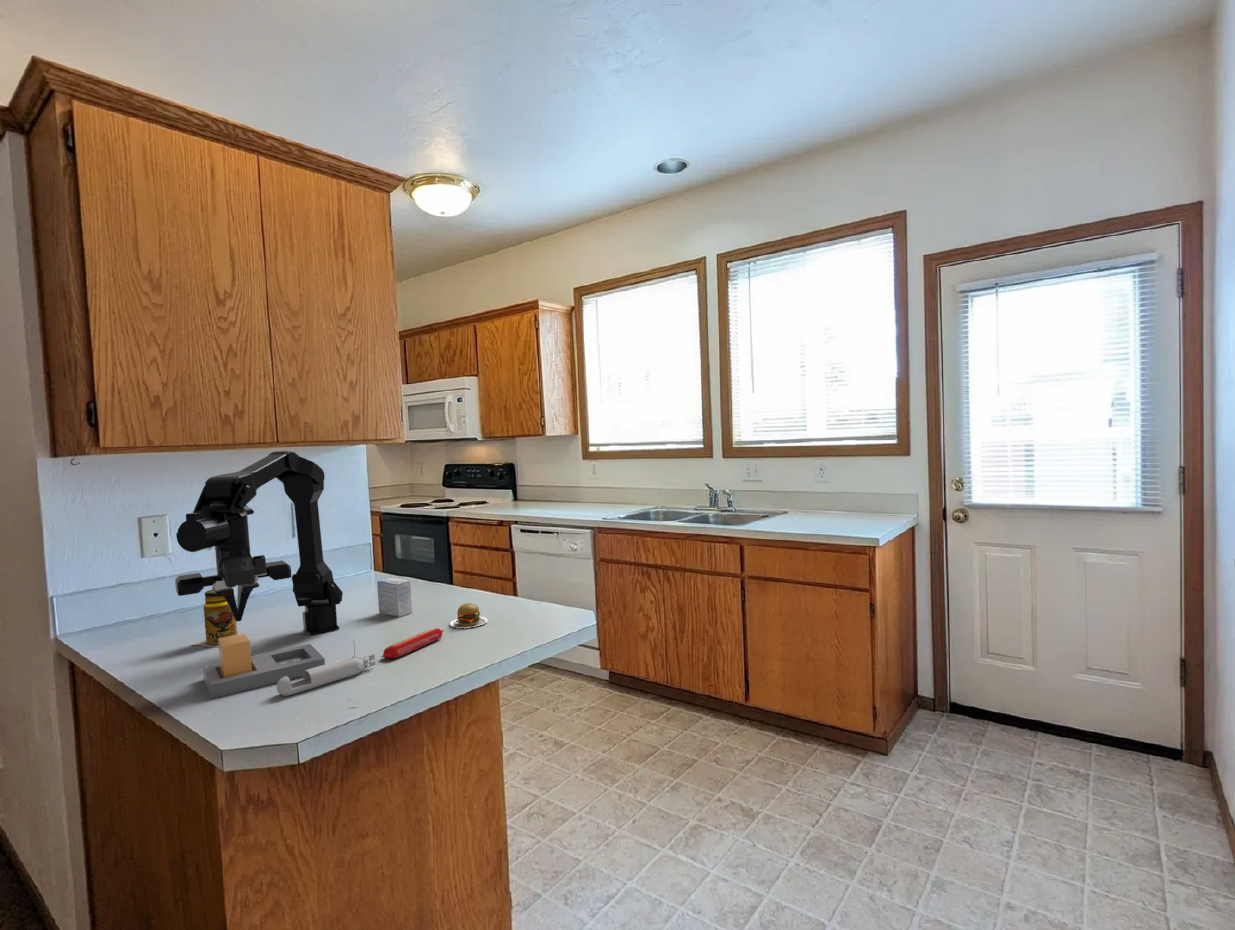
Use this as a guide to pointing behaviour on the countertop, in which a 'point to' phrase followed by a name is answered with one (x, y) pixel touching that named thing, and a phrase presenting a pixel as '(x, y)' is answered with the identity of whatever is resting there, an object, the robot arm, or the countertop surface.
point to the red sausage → (412, 643)
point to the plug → (234, 655)
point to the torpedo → (325, 674)
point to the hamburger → (468, 616)
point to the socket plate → (263, 670)
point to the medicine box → (394, 597)
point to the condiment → (217, 619)
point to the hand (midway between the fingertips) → (238, 620)
